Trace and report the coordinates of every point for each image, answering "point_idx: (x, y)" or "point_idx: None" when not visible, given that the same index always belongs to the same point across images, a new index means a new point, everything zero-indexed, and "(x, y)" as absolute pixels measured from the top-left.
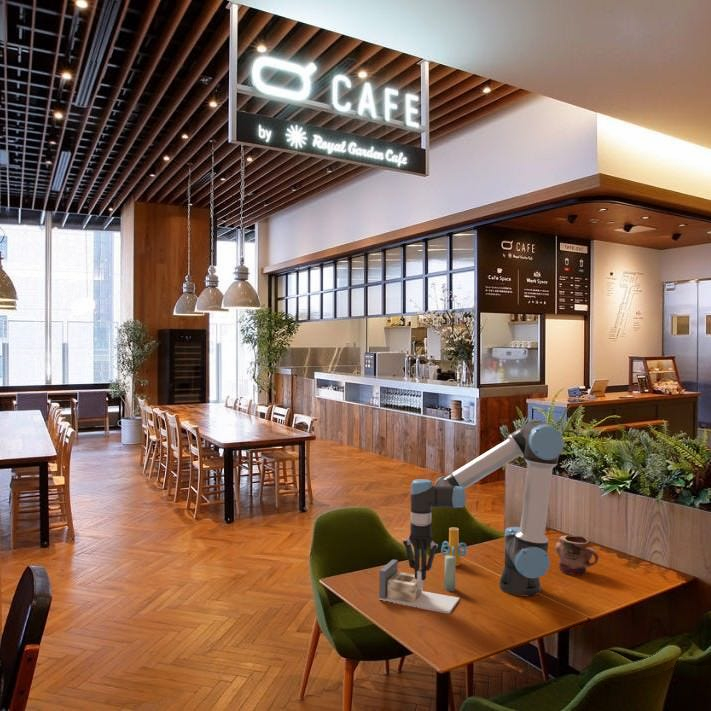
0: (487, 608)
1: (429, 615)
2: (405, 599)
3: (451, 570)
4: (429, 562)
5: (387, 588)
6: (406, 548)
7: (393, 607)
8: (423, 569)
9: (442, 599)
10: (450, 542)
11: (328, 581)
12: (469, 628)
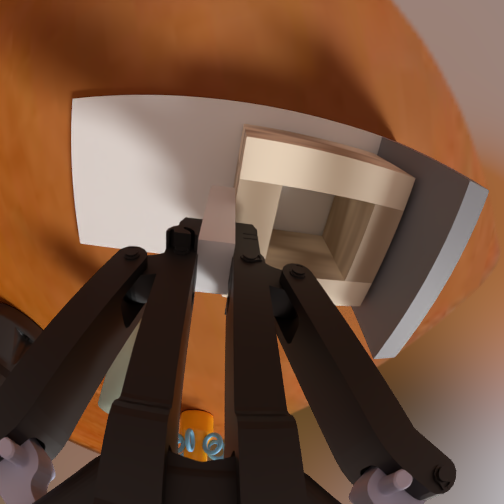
0: (6, 207)
1: (150, 44)
2: (288, 132)
3: (115, 359)
4: (90, 297)
5: (393, 165)
6: (402, 420)
7: (332, 77)
8: (173, 253)
9: (126, 206)
10: (200, 459)
11: (498, 254)
12: (17, 35)
